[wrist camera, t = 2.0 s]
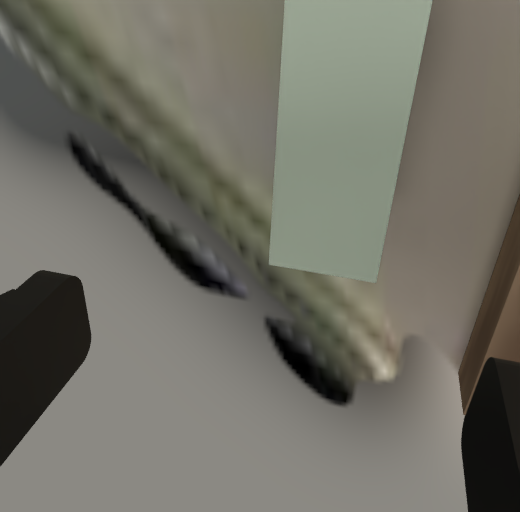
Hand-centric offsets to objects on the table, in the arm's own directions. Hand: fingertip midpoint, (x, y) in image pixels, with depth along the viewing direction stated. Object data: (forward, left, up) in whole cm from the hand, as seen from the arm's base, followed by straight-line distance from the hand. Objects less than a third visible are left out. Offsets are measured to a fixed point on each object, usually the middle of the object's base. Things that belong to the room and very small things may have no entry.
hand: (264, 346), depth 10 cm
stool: (0, 0, -22) cm, 22 cm away
